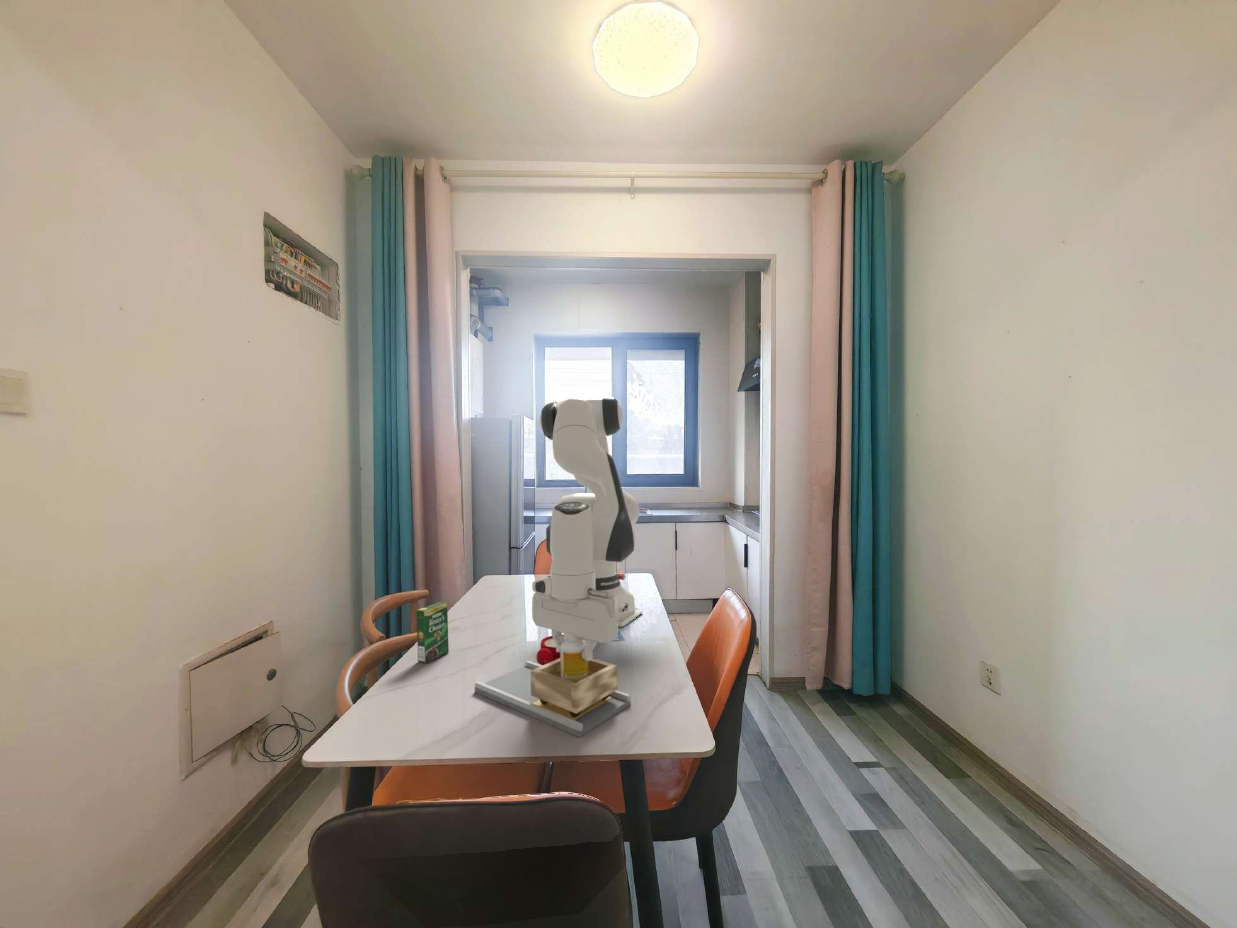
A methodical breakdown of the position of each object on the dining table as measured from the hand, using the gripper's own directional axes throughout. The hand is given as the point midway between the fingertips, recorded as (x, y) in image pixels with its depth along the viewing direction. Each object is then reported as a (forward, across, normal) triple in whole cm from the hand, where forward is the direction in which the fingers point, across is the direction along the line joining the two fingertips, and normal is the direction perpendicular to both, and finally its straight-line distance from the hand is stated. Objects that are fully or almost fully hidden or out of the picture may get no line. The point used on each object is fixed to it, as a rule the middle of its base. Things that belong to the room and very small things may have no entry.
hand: (574, 655), depth 100 cm
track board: (+10, +7, 0) cm, 12 cm away
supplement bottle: (+5, 0, 0) cm, 5 cm away
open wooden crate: (+9, 0, 0) cm, 9 cm away
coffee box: (+10, +47, +2) cm, 48 cm away
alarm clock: (+11, +21, -16) cm, 28 cm away
